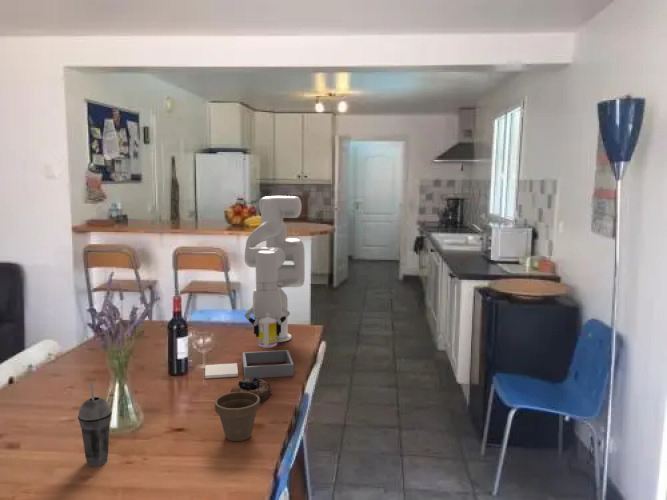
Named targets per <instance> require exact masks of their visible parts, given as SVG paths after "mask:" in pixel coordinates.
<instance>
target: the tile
mask: <svg viewBox="0 0 667 500" xmlns="http://www.w3.org/2000/svg"><path fill="white" fill-rule="evenodd" d="M204 367H205V371H204V379H217V378H218V379H219V378H233V377H236V378H237V377H239V371H238V369H239V368H238V363H237V362H236V363H218V364H216V363H215V364H206V365H205V366H204Z"/></svg>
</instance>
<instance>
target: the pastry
mask: <svg viewBox="0 0 667 500" xmlns="http://www.w3.org/2000/svg"><path fill="white" fill-rule="evenodd" d="M232 392H250V393H254V394H256V395H258V396H259V398H260V405H262V404H263V403H264V402H265V401H267V399H268V398H269V397H270V396H272V390H271V385H270V382H268V381H266V380H264V379H262V378H258V377H255V378H250V379H247V378H246V379H245V378H243V379H242V380H239V381H238V384H237V385H236V386H234V387H232V388H231V389H230V393H232Z"/></svg>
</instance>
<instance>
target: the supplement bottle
mask: <svg viewBox="0 0 667 500" xmlns="http://www.w3.org/2000/svg"><path fill="white" fill-rule="evenodd" d="M266 316H267V317H266V318H262V319H259V321H258V323H257V324H258V337H257V338H258V339H257V343H258V346H259V347H260V348H267V349H269V348H273V347H276V346H277V345H278V342H277V320H276V318H270V317H269V316H270V314H269V313H266Z"/></svg>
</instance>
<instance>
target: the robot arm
mask: <svg viewBox="0 0 667 500" xmlns="http://www.w3.org/2000/svg"><path fill="white" fill-rule="evenodd" d="M258 207H259V212H260V215H261V216H260V225H259V226H258V227H256V228H255V229H253V231H252V232H251V233H249V235H248V237H247V239H246V241H245V249H244V262H245V265H246V266H247V267H248V268H255V288H253V293H252V305H251V306H252V307H250V308H249V310H247V311H246V312H245V313H244V317H245V319H246V320H248V322H249V323H251V324H252V325H253V334H254V335H255V337H256V338H258V321H259V319H262V318H266V317H267V316H266V313H269V314H270V316H269V317H270V318H276V320H277V343H284V342H287V341H290V340H291V339H292V334H290V333H289V332H288V329H289V327H288V326H289V325H288V318H289V316H290V315H291V313H290V311H289V310H288V301H289V300H288V299H289V298H288V295H287V294H286V293H285V291H284V290H283V288H284V289H285V288H301V287H302V286H304V284H305V273H306V271H305V260H306V259H305V258H306V257H305V254H306V253H305V245H304V242H303V241H302V240H301V239H299V238H287V233H288V231H287V225H286V224H285V222H284V219H285V218H289V219H292V218H293V219H296V218H297V219H298V218H299V217H300V215H301V214H302V210H303V209H302V207H303V206H302V201H301V198H300V197H299V196H295V195H294V196H293V195H291V196H290V195H288V196H287V195H271V196H270V195H269V196H268V195H267V196H263V197H261V198H260V199H259V201H258ZM263 242H266V243H265V245H266V246H258V245H259V244H261V243H263ZM285 262H292V263H293V264H284V263H285ZM251 314H252V316H253V317H251Z"/></svg>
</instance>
